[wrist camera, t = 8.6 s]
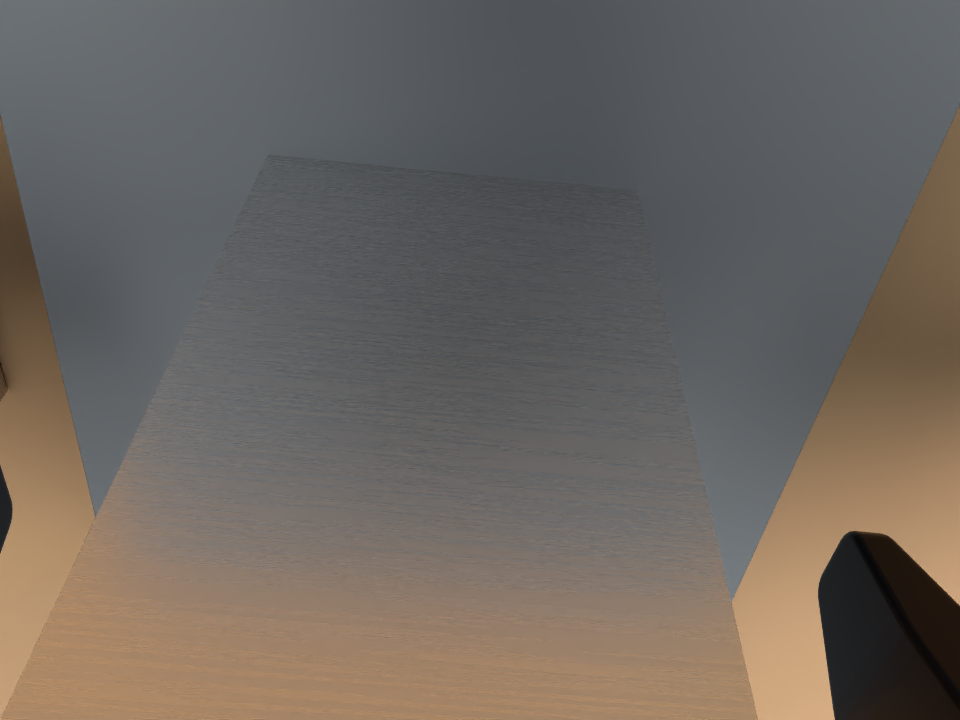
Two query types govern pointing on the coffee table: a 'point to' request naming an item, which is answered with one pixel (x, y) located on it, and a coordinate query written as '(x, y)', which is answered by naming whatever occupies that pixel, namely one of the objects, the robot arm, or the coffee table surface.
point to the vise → (2, 385)
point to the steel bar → (407, 476)
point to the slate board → (491, 171)
